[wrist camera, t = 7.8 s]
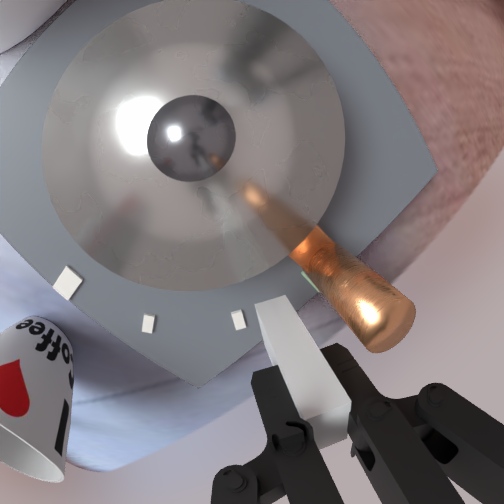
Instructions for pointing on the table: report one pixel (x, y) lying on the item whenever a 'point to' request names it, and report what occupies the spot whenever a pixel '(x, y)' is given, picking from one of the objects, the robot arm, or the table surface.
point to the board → (236, 295)
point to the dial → (208, 158)
